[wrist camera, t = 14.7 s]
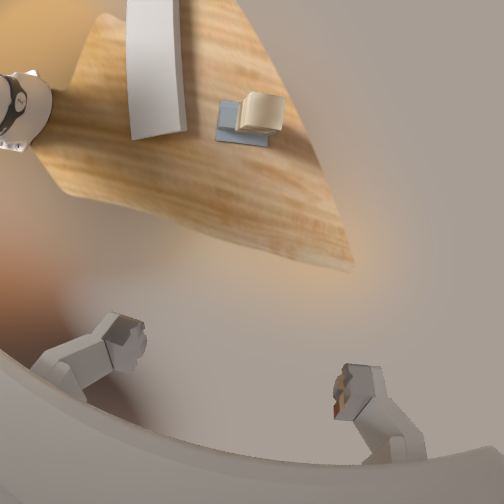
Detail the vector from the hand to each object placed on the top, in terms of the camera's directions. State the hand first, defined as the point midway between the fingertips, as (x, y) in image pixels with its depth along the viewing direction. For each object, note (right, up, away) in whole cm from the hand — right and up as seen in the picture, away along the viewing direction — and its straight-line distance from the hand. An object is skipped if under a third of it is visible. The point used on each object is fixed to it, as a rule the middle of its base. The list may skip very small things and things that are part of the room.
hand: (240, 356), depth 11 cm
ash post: (0, +26, +34) cm, 43 cm away
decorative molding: (-19, +42, +33) cm, 57 cm away
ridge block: (-1, +29, +40) cm, 50 cm away
